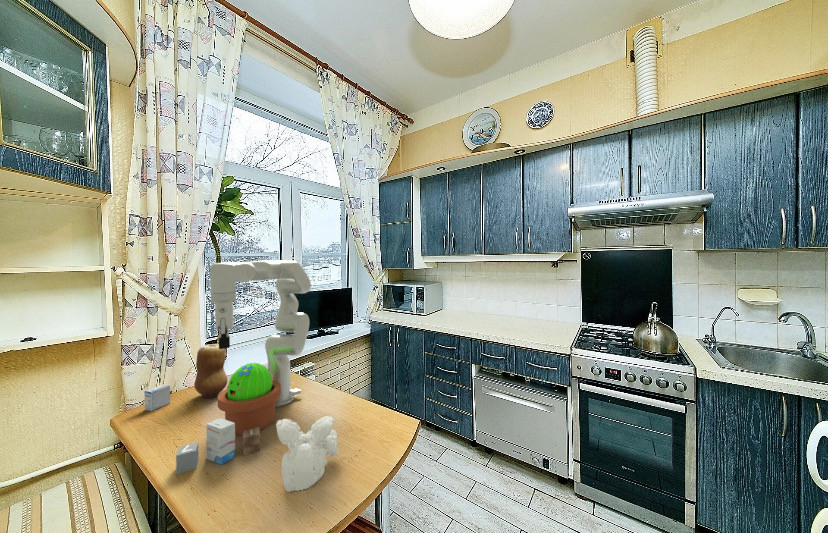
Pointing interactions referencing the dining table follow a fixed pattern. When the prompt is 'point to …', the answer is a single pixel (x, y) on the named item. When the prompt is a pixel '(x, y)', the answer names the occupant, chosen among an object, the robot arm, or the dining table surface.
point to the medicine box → (157, 397)
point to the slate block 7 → (187, 458)
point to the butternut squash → (210, 370)
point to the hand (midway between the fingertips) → (224, 347)
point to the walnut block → (251, 441)
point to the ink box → (220, 441)
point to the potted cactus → (250, 398)
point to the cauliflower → (305, 452)
